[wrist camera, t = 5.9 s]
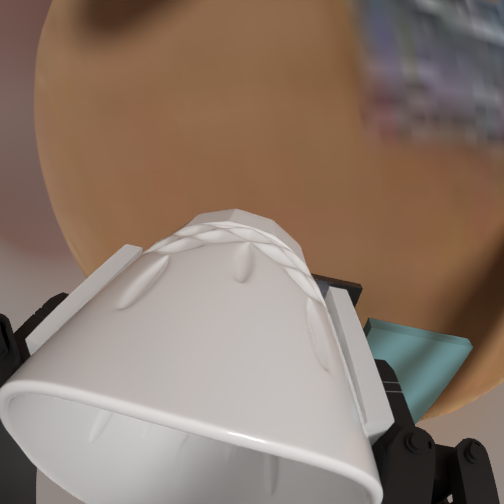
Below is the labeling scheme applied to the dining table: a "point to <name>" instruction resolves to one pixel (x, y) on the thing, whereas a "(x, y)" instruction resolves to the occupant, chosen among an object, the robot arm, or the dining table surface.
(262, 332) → the white cup
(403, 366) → the balance beam
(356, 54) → the dining table surface
